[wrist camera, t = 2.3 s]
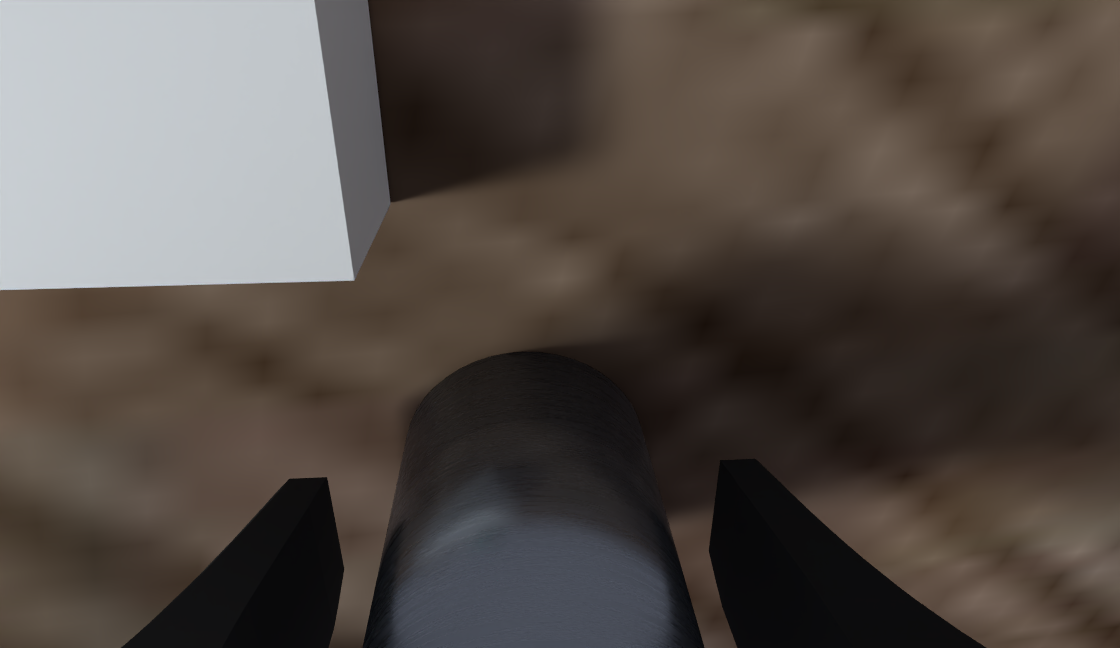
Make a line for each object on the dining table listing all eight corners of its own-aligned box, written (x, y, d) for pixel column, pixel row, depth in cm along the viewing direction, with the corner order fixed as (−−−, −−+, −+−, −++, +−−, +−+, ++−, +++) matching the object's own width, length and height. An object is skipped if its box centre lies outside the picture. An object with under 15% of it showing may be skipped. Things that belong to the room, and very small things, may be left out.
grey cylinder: (637, 538, 15) (711, 866, 9) (416, 549, 14) (364, 893, 9) (649, 347, 13) (752, 627, 7) (393, 356, 12) (308, 652, 7)
